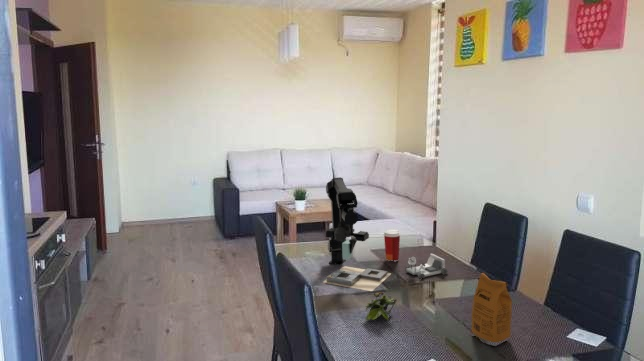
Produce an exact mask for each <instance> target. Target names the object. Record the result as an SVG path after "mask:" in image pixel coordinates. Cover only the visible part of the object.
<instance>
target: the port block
mask: <svg viewBox="0 0 644 361" xmlns="http://www.w3.org/2000/svg"><path fill="white" fill-rule="evenodd" d="M342 277H345V278H342ZM360 278H361V273H355V272H349V271H343V270H340V269H336V270H334V271H332V272H331V273H330V274H328V275H327V276H326V279H327V282H331V283H337V284H342V285H348V286H352V285H353V284H354V283H355V282H357V281H358V280H359V279H360Z"/></svg>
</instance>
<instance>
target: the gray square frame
mask: <svg viewBox="0 0 644 361" xmlns="http://www.w3.org/2000/svg"><path fill="white" fill-rule="evenodd" d="M371 273H375V274H377V275H376V276H374V275H370V274H371ZM388 273H389V272H388V270H381V269H374V268H369V267H367V268H366V270H365V271H363V272H362V273H361V278H367V279H373V280H379V281H380V280H381V279H382V278H384V277H385V276H386V275H387V274H388Z"/></svg>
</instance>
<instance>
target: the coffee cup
mask: <svg viewBox="0 0 644 361" xmlns="http://www.w3.org/2000/svg"><path fill="white" fill-rule="evenodd" d="M382 235H383V236H384V239H383V240H384V250H385V260H386V259H388V260H393V261H394V260H398V259H399V258H400V241H401V240H400V238H401V237H400V236H401V232H400V231H399V230H398V229H387V230H385V231H384V232H383V234H382ZM399 260H400V259H399ZM399 260H398V261H399Z"/></svg>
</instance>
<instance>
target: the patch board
mask: <svg viewBox="0 0 644 361" xmlns="http://www.w3.org/2000/svg"><path fill="white" fill-rule="evenodd" d="M366 269H367V268H366ZM366 269H365V268H359V267H351V266H347V265H346V266H345V265H344V266H342V267H341V268H340V269H339V270H343V271H349V272H355V273H362V272H363V271H365V270H366ZM370 275H374V276H376V275H377V274H375V273H371V274H370ZM391 275H392V273H391V272H388V274H387V275H386V276H385V277H384V278H382V279H381V280H380V281H379V280H373V279H367V278H360V279H359V280H358V281H357V282H355V283H354V284H353V285H352V286H348V285H342V284H337V283H331V282H327V278H326V279H324V280H323V281H322V283H323V284H329V285H334V286H340V287H346V288H351V289H357V290H362V291H366V292H367V291H368V292H373V291H375V290H376V288H378V287H379V286H380V285H381V284H382V283H383V282H384V281H385V280H386V279H388V278H389V277H390V276H391ZM342 278H345V277H342Z"/></svg>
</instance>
